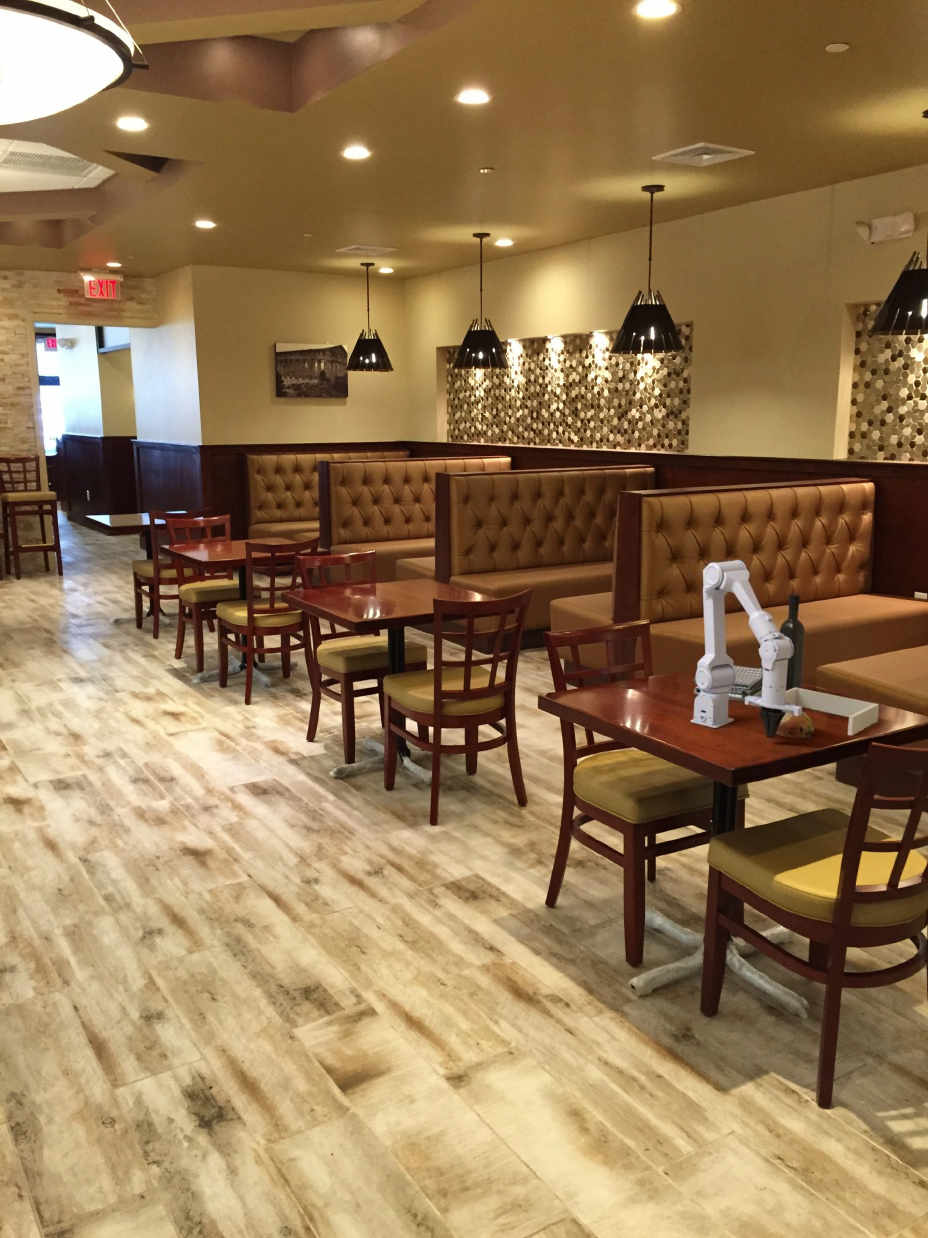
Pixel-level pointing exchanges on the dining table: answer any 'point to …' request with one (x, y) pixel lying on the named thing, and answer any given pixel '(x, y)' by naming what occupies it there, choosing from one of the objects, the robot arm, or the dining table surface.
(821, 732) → the dining table surface
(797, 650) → the wine bottle
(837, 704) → the box
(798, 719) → the bread roll
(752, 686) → the towel
